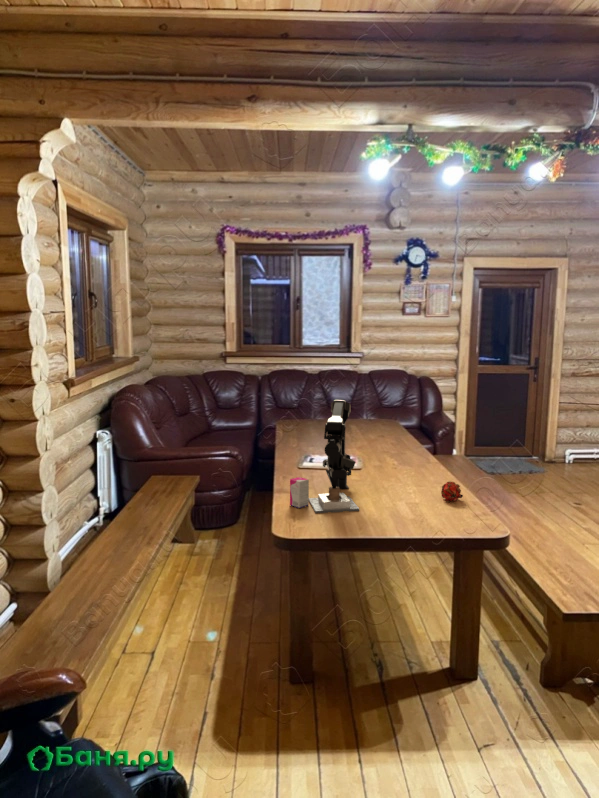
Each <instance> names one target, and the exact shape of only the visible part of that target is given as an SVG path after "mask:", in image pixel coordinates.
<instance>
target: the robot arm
mask: <svg viewBox="0 0 599 798" xmlns="http://www.w3.org/2000/svg"><path fill="white" fill-rule="evenodd" d="M351 405H352V404H351V403H350V402H347V401H346V400H344V399H334V400H333V401H332V402H331V403H330V408H331V409H330V412H331V413H332V414H331V417H329V418H328V419H327V422H326V423H325V425H324V434H323V439H324V440H327V442H326V445H325V446H324V454H325V455H326V456H327V458H326V459H325V458H324V459H323V461H322V467H323V468H327V469H325V472H326V474H327V478H328V479H329V482H330V484H331V485H330V486H331V487H332V488H336V487H339V488H340V490H345V489H349V488H350V487H349V486H348V482H347V481H348V477H350V476H352V470H354V467H355V465H356V460H354V459H352V458H351V456H350V455H349V454H347V453H346V429H347V426H346V422H347V420H348V418H349V417H350V414H351V408H352V406H351Z"/></svg>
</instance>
